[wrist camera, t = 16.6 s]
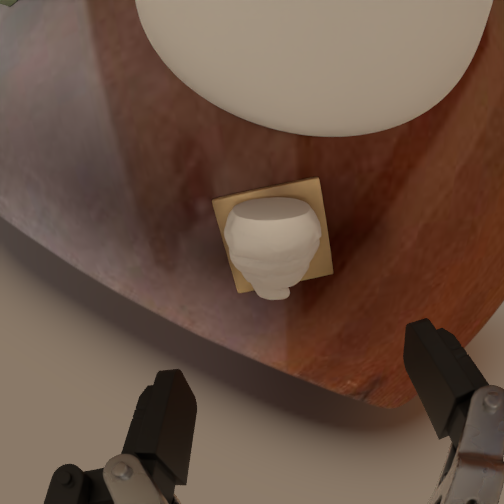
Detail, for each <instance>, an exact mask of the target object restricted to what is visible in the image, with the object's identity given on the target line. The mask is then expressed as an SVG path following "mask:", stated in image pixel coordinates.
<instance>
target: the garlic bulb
mask: <svg viewBox="0 0 504 504" xmlns="http://www.w3.org/2000/svg"><path fill="white" fill-rule="evenodd" d="M321 235H322V234H321V226H320V222H319V220H318V218H317V216H316V214H315V212H314V210H313V209H312V208H311V207H310V205H309V204H308V203H306V202H304V201H301V200H298V199H294V198H285V197H270V198H259V199H252V200H247V201H244V202H241V203H239V204H237V205H235V206H234V207H233V209H232V210H231V212H230V213H229V215H228V217H227V221H226V226H225V229H224V237H225V240H226V242H227V245H228V247H229V255H230V259H231V261H232V263H233V264H234V266H235V267H236V268H237V269H238V270H239V271H241V272H242V275H243V277H244V278H245V279H246V280H247V281H248V282H249V283H251V285H252V287H253V288H254V290H255V292H256V293H257V295H258V296H259V297H261V298H265V299H268V300H282V299H286V298H287V297H289V294H290V290H289V289H288V287H291V286H294V285H295V284H297V283H298V282H299V281H300V280H301V279H302V277H303V276H304V275H305V273H306V272H307V270H308V268H309V263H310V261H311V260H312V258H313V257H314V255H315V253H316V251H317V250H318V247H319V245H320V240H319V238H320V237H321Z"/></svg>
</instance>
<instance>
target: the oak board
mask: <svg viewBox="0 0 504 504" xmlns="http://www.w3.org/2000/svg"><path fill="white" fill-rule="evenodd" d="M270 197H285V198H294V199H298V200H301V201H304V202H306V203H308V204H309V205H310V207H311V208H312V209H313V210H314V212H315V214H316V216H317V218H318V220H319V222H320V226H321V234H322V235H321V237H320V238H319V240H320V245H319V247H318V250H317V251H316V253H315V255H314V257H313V258H312V260H311V261H310V263H309V268H308V270H307V272H306V273H305V275H304V276H303V277H302V279H301V280H300V281H303V280H307V279H312V278H317V277H321V276H326V275H330V274H333V265H332V257H331V250H330V243H329V236H328V229H327V222H326V216H325V210H324V204H323V198H322V192H321V186H320V180H319V178H318V177H311V178H306V179H301V180H296V181H291V182H286V183H282V184H277V185H272V186H267V187H263V188H258V189H254V190H249V191H245V192H240V193H236V194H232V195H227V196H223V197H219V198H215V199H213V200H212V204H213V208H214V212H215V215H216V219H217V222H218V226H219V229H220V233H221V236H222V240H223V243H224V247H225V250H226V254H227V257H228V261H229V264H230V268H231V271H232V275H233V278H234V282H235V285H236V288H237V292H238V293H243V292H248V291H254V288H253V287H252V285H251V283H249V282H248V281H247V280H246V279H245V278H244V277H243V275H242V272H241V271H239V270H238V269H237V268H236V267H235V266H234V264H233V263H232V261H231V259H230V255H229V247H228V245H227V242H226V240H225V237H224V229H225V226H226V221H227V217H228V215H229V213H230V212H231V210H232V209H233V207H234V206H235V205H237V204H239V203H241V202H244V201H247V200H252V199H259V198H270Z"/></svg>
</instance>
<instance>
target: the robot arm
mask: <svg viewBox="0 0 504 504" xmlns="http://www.w3.org/2000/svg"><path fill="white" fill-rule="evenodd" d="M403 358H404V365H405V368H406V371H407V373H408V375H409V377H410V379H411V381H412V383H413V385H414V387H415V389H416V391H417V393H418V395H419V397H420V399H421V401H422V403H423V406H424V407H425V410H426V412H427V414H428V416H429V418H430V420H431V423H432V425H433V427H434V429H435V431H436V434H437V436H438V438H439V439H442V438H444V437H446V436H450V438H451V441H452V443H451V446H450V448H449V451H448V455H447V458H446V461H445V463H444V466H443V469H442V472H441V475H440V478H439V480H438V483H437V485H436V488H435V490H434V492H433V494H432V496H431V498H430V500H429V502H428V504H498V502H499V499H500V495H501V491H502V488H503V483H504V462H503V455H504V389H503V388H501V387H498V386H494V385H489V384H488V382H487V381H486V379H485V378H484V377H483V375H482V374H481V372H480V371H479V369H478V368H477V366H476V365H475V364H474V362H473V361H472V359H471V358H470V357H469V355H467V353H466V351H465V350H464V348H463V347H461V344H460V343H459V341H458V340H457V339H456V337H455V336H454V335H453V334H451V333H450V332H448V331H447V330H445V329H443V328H440V329H437V330H436V329H435V327H434V326H433V324H432V323H431V322H430V320H429V319H427V318H425V319H422V320H419V321H415V322H412V323H409V324H407V325H406V331H405V344H404V354H403ZM196 413H197V403H196V399H195V396H194V394H193V392H192V390H191V388H190V387H189V385H188V383H187V381H186V379H185V377H184V375H183V373H182V372H181V370H179V369H173V370H163V371H159V372H158V373H157V375H156V378H155V382H154V385H151V386H147V388H146V389H145V390H144V391H143V393H142V394H141V395H140V397H139V400H138V403H137V406H136V410H135V412H134V415H133V419H132V421H131V424H130V427H129V431H128V434H127V437H126V440H125V444H124V447H123V450H122V453H121V454H120V455H117V456H115V457H113V458H111V459H110V460H109V461H108V462H107V463H106V465H105V467H104V468H101V469H96V470H91V471H85V472H83V471H82V470H81V469H80V468H78V467H77V466H76V465H74V464H65V465H63V466H61V467H59V468H58V469H57V470H56V471H55V472H54V474H53V476H52V479H51V482H50V485H49V489H48V492H47V495H46V498H45V501H44V504H181V502H180V501H179V499H178V498H177V496H176V495H175V494H174V489H175V485H186V483H187V475H188V468H189V462H190V454H191V448H192V441H193V433H194V427H195V420H196Z"/></svg>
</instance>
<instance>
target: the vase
mask: <svg viewBox="0 0 504 504" xmlns="http://www.w3.org/2000/svg"><path fill="white" fill-rule="evenodd" d="M135 1H136V7H137V11H138V15H139V18H140V21H141V24H142V26H143V29H144V31H145V33H146V35H147V37H148V39H149V41H150V43H151V45H152V46H153V48H154V49H155V51H156V52H157V54H158V55H159V57H160V58H161V59H162V60H163V62H164V63H165V64H166V65H167V66H168V68H169V69H170V70H171V71H172V72H173V73H174V74H175V75H176V76H177V77H178V78H179V79H180V80H181V81H182V82H184V83H185V84H186V85H187V86H188V87H190V88H191V89H192V90H193V91H195V92H196V93H197V94H199V95H200V96H202V97H203V98H205V99H206V100H208V101H209V102H211V103H213V104H214V105H216V106H218V107H219V108H221V109H223V110H225V111H227V112H229V113H231V114H233V115H235V116H238V117H240V118H242V119H245V120H247V121H250V122H253V123H255V124H258V125H261V126H265V127H268V128H272V129H275V130H279V131H284V132H289V133H294V134H300V135H308V136H321V137H345V136H356V135H364V134H369V133H374V132H379V131H383V130H386V129H390V128H393V127H396V126H398V125H401V124H403V123H406V122H408V121H410V120H412V119H414V118H416V117H418V116H420V115H421V114H423V113H425V112H426V111H428V110H429V109H431V108H432V107H433V106H435V105H436V104H437V103H438V102H440V101H441V100H442V99H443V98H444V97H445V96H446V95H447V94H448V93H449V92H450V91H451V90H452V89H453V87H454V86H455V85H456V84H457V83H458V81H459V80H460V78H461V77H462V76H463V74H464V72H465V71H466V69H467V67H468V66H469V64H470V62H471V60H472V58H473V56H474V54H475V51H476V49H477V47H478V44H479V42H480V39H481V37H482V34H483V31H484V28H485V25H486V22H487V19H488V16H489V12H490V9H491V6H492V2H493V0H135Z"/></svg>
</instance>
